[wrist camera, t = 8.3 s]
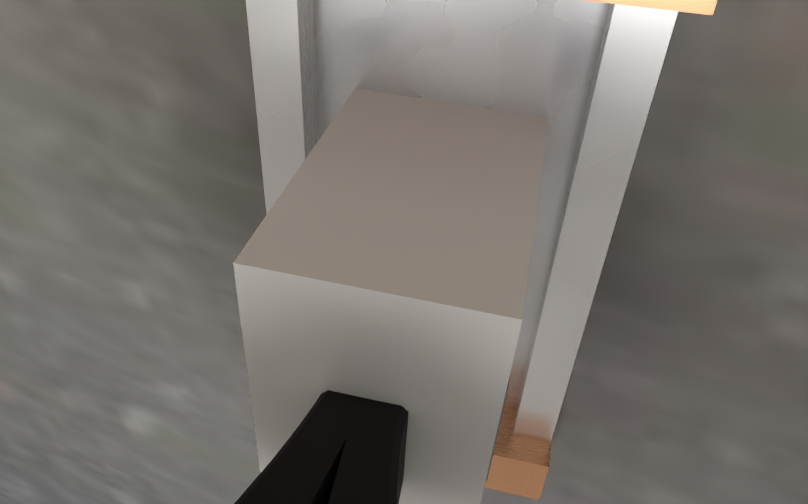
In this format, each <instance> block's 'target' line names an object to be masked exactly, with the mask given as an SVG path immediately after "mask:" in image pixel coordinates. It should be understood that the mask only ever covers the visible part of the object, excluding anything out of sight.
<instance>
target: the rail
mask: <svg viewBox="0 0 808 504" xmlns="http://www.w3.org/2000/svg"><path fill="white" fill-rule="evenodd" d="M716 3H717V0H246V9H247V19H248V30H249V40H250V50H251V61H252V71H253V81H254V92H255V102H256V112H257V122H258V133H259V143H260V153H261V164H262V174H263V184H264V195H265V205H266V215H267V214H268V212H269V211H270V209H271V208H272V206H273V205H274V204H275V202H276V201H277V199H278V198H279V196H280V195H281V194H282V192H283V191H284V189H285V188H286V186H287V185H288V184H289V182H290V181H291V179H292V178H293V176H294V175H295V174H296V172H297V171H298V169H299V168H300V166H301V165H302V163H303V162H304V161H305V159H306V158H307V156H308V155H309V153H310V152H311V151H312V149H313V148H314V146H315V145H316V143H317V142H318V141H319V139H320V138H321V136H322V135H323V133H324V132H325V131H326V129H327V128H328V126H329V125H330V123H331V122H332V120H333V119H334V118H335V116H336V115H337V113H338V112H339V110H340V109H341V108H342V106H343V105H344V103H345V102H346V100H347V99H348V98H349V96H350V95H351V93H352V92H353V90H354V89H355V88H357V89H363V90H370V91H376V92H383V93H390V94H396V95H403V96H409V97H416V98H422V99H429V100H436V101H442V102H449V103H455V104H462V105H468V106H475V107H481V108H488V109H495V110H501V111H508V112H514V113H521V114H527V115H534V116H540V117H547V118H549V119H548V126H547V134H546V142H545V150H544V157H543V165H542V173H541V181H540V188H539V196H538V204H537V212H536V219H535V227H534V235H533V243H532V250H531V258H530V266H529V274H528V281H527V289H526V297H525V305H524V312H523V320H522V324H521V329H520V333H519V337H518V342H517V346H516V350H515V355H514V359H513V364H512V368H511V373H510V381H509V388H508V393H507V397H506V401H505V406H504V410H503V414H502V419H501V423H500V427H499V432H498V436H497V440H496V445H495V449H494V453H493V457H492V462H491V466H490V470H489V475H488V479H487V481H485V486H484V487H485V488H489V489H494V490H498V491H502V492H507V493H511V494H516V495H520V496H524V497H529V498H533V499H538V500H539V499H540V496H541V492H542V489H543V486H544V483H545V479H546V476H547V473H548V470H549V463H550V448H551V440H552V436H553V433H554V430H555V426H556V423H557V419H558V416H559V413H560V409H561V406H562V403H563V399H564V396H565V392H566V389H567V386H568V382H569V379H570V376H571V372H572V369H573V365H574V362H575V359H576V355H577V352H578V348H579V345H580V342H581V338H582V335H583V332H584V328H585V325H586V321H587V318H588V315H589V311H590V308H591V305H592V301H593V298H594V294H595V291H596V288H597V284H598V281H599V278H600V274H601V271H602V267H603V264H604V261H605V257H606V254H607V251H608V247H609V244H610V240H611V237H612V234H613V230H614V227H615V224H616V220H617V217H618V213H619V210H620V207H621V203H622V200H623V196H624V193H625V190H626V186H627V183H628V180H629V176H630V173H631V169H632V166H633V163H634V159H635V156H636V153H637V149H638V146H639V142H640V139H641V136H642V132H643V129H644V126H645V122H646V119H647V115H648V112H649V109H650V105H651V102H652V99H653V95H654V92H655V88H656V85H657V82H658V78H659V75H660V71H661V68H662V65H663V61H664V58H665V55H666V51H667V48H668V44H669V41H670V38H671V34H672V31H673V28H674V24H675V21H676V17H677V14H678V11H680V12H689V13H697V14H706V15H713V12H714V9H715V6H716Z"/></svg>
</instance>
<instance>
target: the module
mask: <svg viewBox="0 0 808 504" xmlns="http://www.w3.org/2000/svg"><path fill="white" fill-rule="evenodd" d="M548 119H549V118H547V117H540V116H534V115H527V114H521V113H514V112H508V111H501V110H495V109H488V108H481V107H475V106H468V105H462V104H455V103H449V102H442V101H436V100H429V99H422V98H416V97H409V96H403V95H396V94H390V93H383V92H376V91H370V90H363V89H357V88H355V89H354V90H353V92H352V93H351V95H350V96H349V98H348V99H347V100H346V102H345V103H344V105H343V106H342V108H341V109H340V110H339V112H338V113H337V115H336V116H335V118H334V119H333V120H332V122H331V123H330V125H329V126H328V128H327V129H326V131H325V132H324V133H323V135H322V136H321V138H320V139H319V141H318V142H317V143H316V145H315V146H314V148H313V149H312V151H311V152H310V153H309V155H308V156H307V158H306V159H305V161H304V162H303V163H302V165H301V166H300V168H299V169H298V171H297V172H296V174H295V175H294V176H293V178H292V179H291V181H290V182H289V184H288V185H287V186H286V188H285V189H284V191H283V192H282V194H281V195H280V196H279V198H278V199H277V201H276V202H275V204H274V205H273V206H272V208H271V209H270V211H269V212H268V214H267V215H266V217H265V218H264V219H263V221H262V222H261V224H260V225H259V227H258V228H257V229H256V231H255V232H254V234H253V235H252V237H251V238H250V239H249V241H248V242H247V244H246V245H245V247H244V248H243V249H242V251H241V252H240V254H239V255H238V257H237V258H236V260H235V261H234V262H233V266H234V274H235V282H236V289H237V297H238V305H239V312H240V320H241V328H242V335H243V343H244V351H245V359H246V366H247V374H248V382H249V389H250V397H251V405H252V413H253V420H254V428H255V436H256V443H257V451H258V459H259V466H260V473H261V472H262V471H263V470H264V469H265V467H266V466H267V465H268V464H269V463H270V462H271V460H272V459H273V458H274V457H275V455H276V454H277V453H278V452H279V450H280V449H281V448H282V447H283V445H284V444H285V443H286V442H287V440H288V439H289V438H290V436H291V435H292V434H293V433H294V431H295V430H296V429H297V427H298V426H299V425H300V423H301V422H302V421H303V419H304V418H305V416H306V415H307V414H308V412H309V411H310V409H311V408H312V407H313V405H314V404H315V402H316V401H317V399H318V398H319V396H320V395H321V393H323V392H325V391H327V390H330V391H334V392H339V393H344V394H348V395H353V396H358V397H363V398H367V399H372V400H377V401H381V402H386V403H391V404H396V405H401V406H403V407H404V408H405V409H406V410H407V411H408V412H409V413H408V426H407V438H406V451H405V464H404V477H403V484H402V489H401V494H400V499H399V504H480V503H481V499H482V494H483V490H484V486H485V481H487V479H488V475H489V470H490V466H491V462H492V457H493V453H494V449H495V445H496V440H497V436H498V432H499V427H500V423H501V419H502V414H503V410H504V406H505V401H506V397H507V393H508V388H509V381H510V373H511V368H512V364H513V359H514V355H515V350H516V346H517V342H518V337H519V333H520V329H521V324H522V320H523V312H524V305H525V297H526V289H527V281H528V274H529V266H530V258H531V250H532V243H533V235H534V227H535V219H536V212H537V204H538V196H539V188H540V181H541V173H542V165H543V157H544V150H545V142H546V134H547V126H548Z"/></svg>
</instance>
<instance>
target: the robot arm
mask: <svg viewBox="0 0 808 504" xmlns="http://www.w3.org/2000/svg"><path fill="white" fill-rule="evenodd" d="M408 413H409V412H408V411H407V410H406V409H405V408H404V407H403V406H401V405H396V404H391V403H386V402H381V401H377V400H372V399H367V398H363V397H358V396H353V395H348V394H344V393H339V392H334V391H330V390H327V391H325V392H323V393H321V395H320V396H319V398H318V399H317V401H316V402H315V404H314V405H313V407H312V408H311V409H310V411H309V412H308V414H307V415H306V416H305V418H304V419H303V421H302V422H301V423H300V425H299V426H298V427H297V429H296V430H295V431H294V433H293V434H292V435H291V436H290V438H289V439H288V440H287V442H286V443H285V444H284V445H283V447H282V448H281V449H280V450H279V452H278V453H277V454H276V455H275V457H274V458H273V459H272V460H271V462H270V463H269V464H268V465H267V466H266V467H265V469H264V470H263V471H262V472H261V473H260V474H259V476H258V477H257V478H256V479H255V480H254V481H253V483H252V484H251V485H250V486H249V487H248V488H247V490H246V491H245V492H244V493H243V494H242V496H241V497H240V498H239V499H238V500H237V501H236V502H235V503H234V504H399V499H400V494H401V489H402V484H403V477H404V464H405V451H406V438H407V426H408Z"/></svg>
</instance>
